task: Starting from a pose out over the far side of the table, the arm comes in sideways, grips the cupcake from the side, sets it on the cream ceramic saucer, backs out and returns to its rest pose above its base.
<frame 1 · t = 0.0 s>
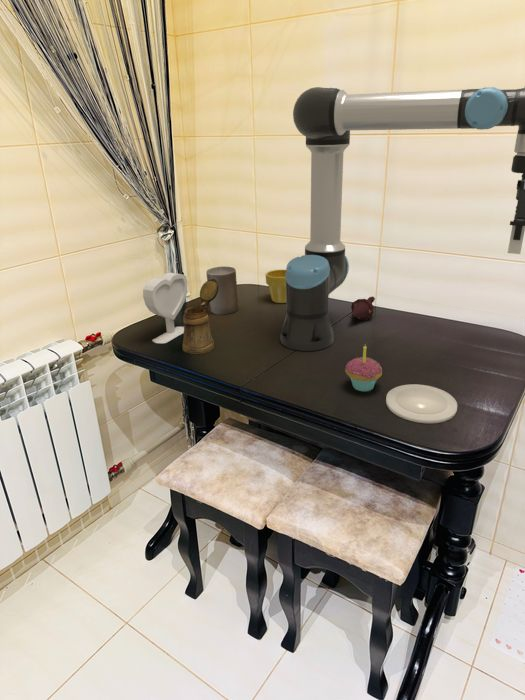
hand: (514, 246, 124), 28 cm above the table, tool pointing down, fingers open, 13 cm apart
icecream: (362, 319, 159), on the table
heart sculpture: (171, 335, 152), on the table
cupcake: (362, 387, 120), on the table
saucer: (420, 404, 112), on the table
pillar candle: (223, 310, 170), on the table
plant pot: (281, 300, 177), on the table
wooden mug: (203, 345, 144), on the table
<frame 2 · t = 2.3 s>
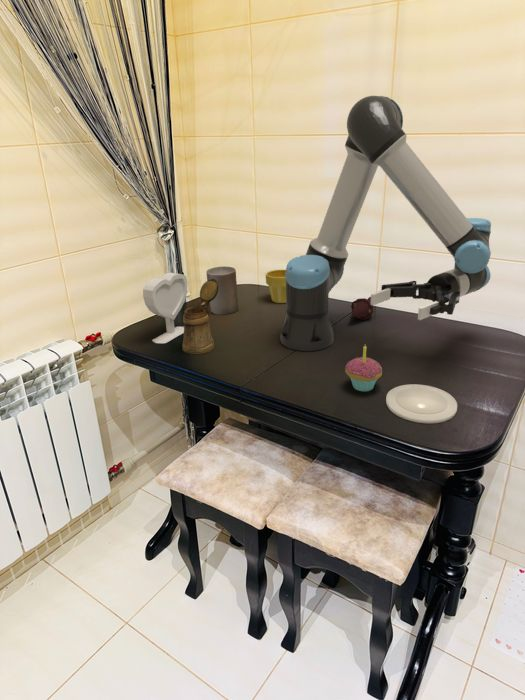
hand: (394, 306, 118), 18 cm above the table, tool horizontal, fingers open, 13 cm apart
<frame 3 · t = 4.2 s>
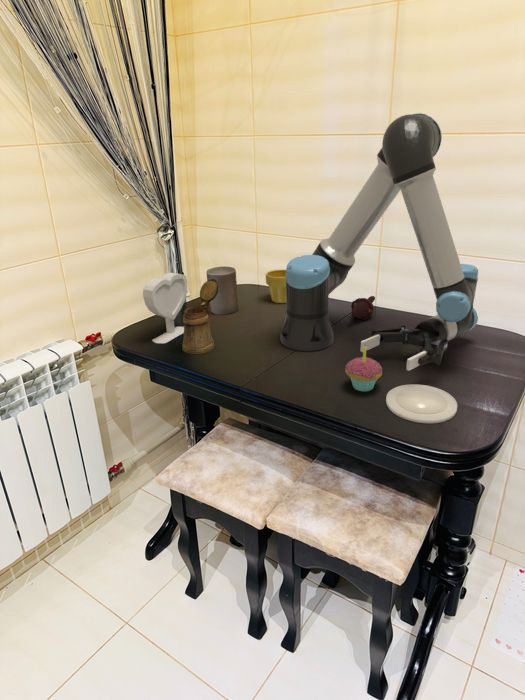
hand: (383, 355, 120), 6 cm above the table, tool horizontal, fingers open, 13 cm apart
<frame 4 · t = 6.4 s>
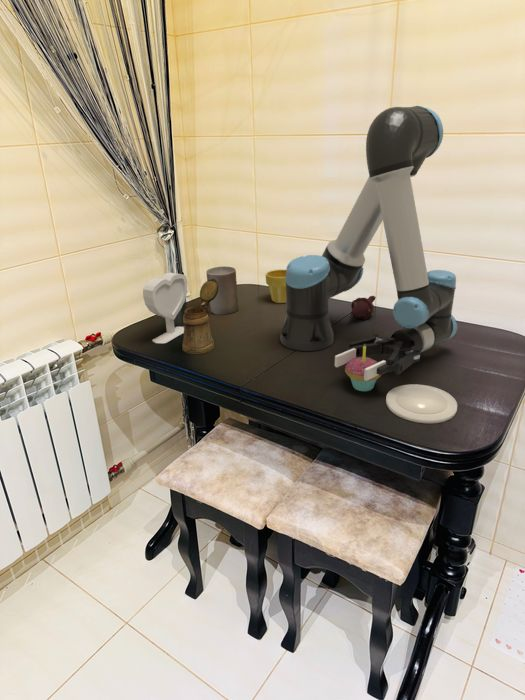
hand: (350, 368, 114), 7 cm above the table, tool horizontal, fingers closed on cupcake, 8 cm apart
cupcake: (362, 387, 120), on the table, touching gripper
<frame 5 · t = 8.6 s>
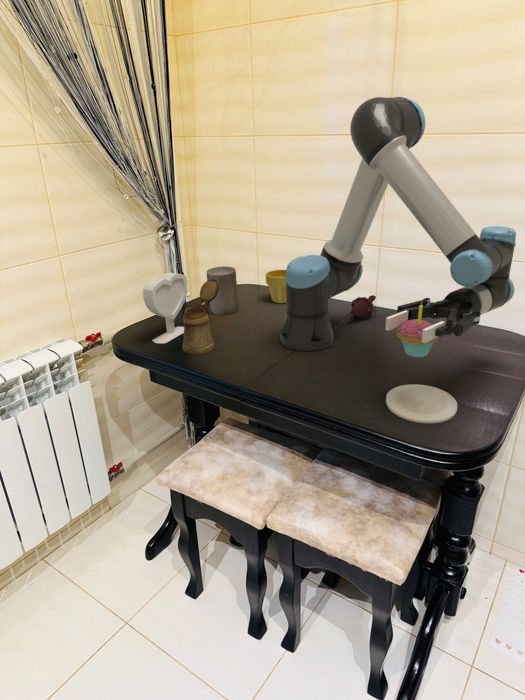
hand: (405, 330, 103), 19 cm above the table, tool horizontal, fingers closed on cupcake, 8 cm apart
cupcake: (415, 353, 108), point 12 cm above the table, touching gripper
when the fingers open (9 cm above the table, at t = 11.0 s): cupcake drops 1 cm, resting on saucer.
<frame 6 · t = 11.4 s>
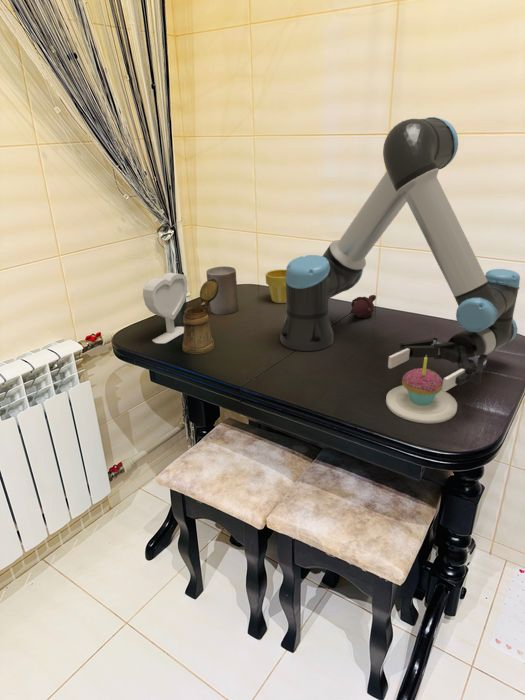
hand: (415, 373, 106), 9 cm above the table, tool horizontal, fingers open, 13 cm apart
cupcake: (420, 400, 111), point 1 cm above the table, touching saucer
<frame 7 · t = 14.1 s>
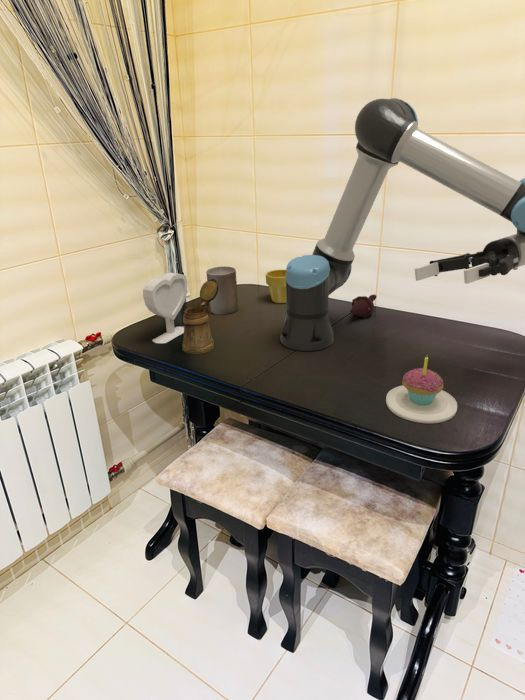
hand: (439, 275, 108), 27 cm above the table, tool horizontal, fingers open, 13 cm apart
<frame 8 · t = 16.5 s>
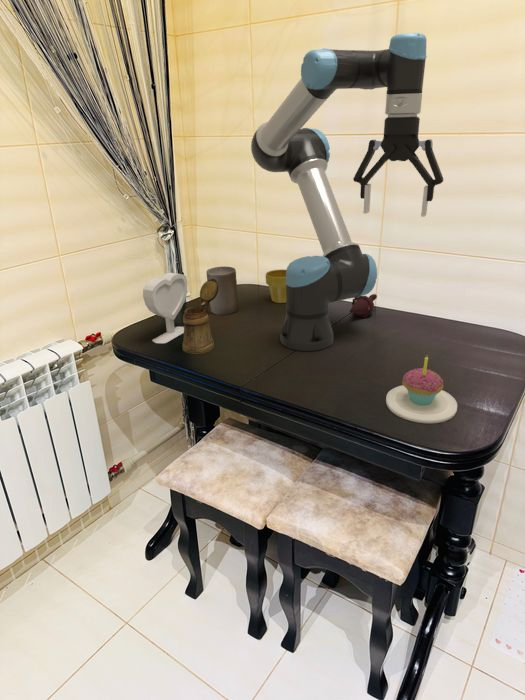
hand: (394, 214, 121), 37 cm above the table, tool pointing down, fingers open, 13 cm apart
at the end: cupcake 0.2 cm from the saucer (horizontally); cupcake tilted 0°; the gripper is holding nothing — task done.
